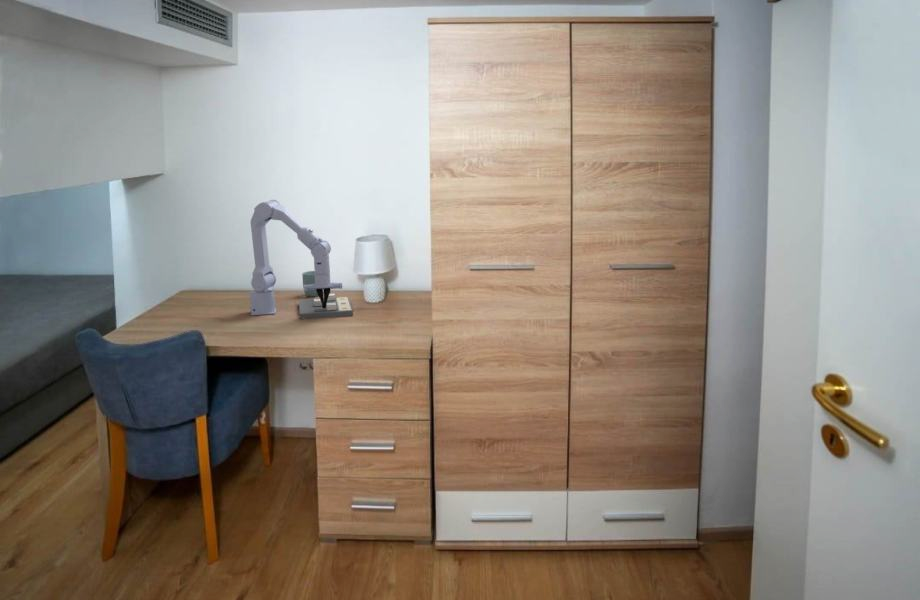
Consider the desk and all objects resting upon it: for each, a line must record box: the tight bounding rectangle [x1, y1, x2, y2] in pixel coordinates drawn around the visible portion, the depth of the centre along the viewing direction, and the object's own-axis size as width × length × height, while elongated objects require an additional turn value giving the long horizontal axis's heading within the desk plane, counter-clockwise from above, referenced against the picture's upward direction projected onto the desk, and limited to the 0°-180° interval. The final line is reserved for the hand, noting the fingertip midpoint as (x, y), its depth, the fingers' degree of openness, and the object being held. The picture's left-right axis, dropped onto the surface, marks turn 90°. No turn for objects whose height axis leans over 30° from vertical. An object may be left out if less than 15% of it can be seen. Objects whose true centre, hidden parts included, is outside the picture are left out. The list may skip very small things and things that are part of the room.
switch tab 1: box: [313, 298, 322, 306], centre depth 320 cm, size 4×4×2 cm
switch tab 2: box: [327, 293, 336, 301], centre depth 328 cm, size 4×4×2 cm
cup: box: [301, 270, 319, 298], centre depth 344 cm, size 8×8×10 cm
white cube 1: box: [327, 303, 336, 310], centre depth 313 cm, size 4×4×2 cm
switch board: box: [298, 296, 354, 320], centre depth 321 cm, size 20×24×2 cm
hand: (324, 307), depth 312 cm, fingers closed
